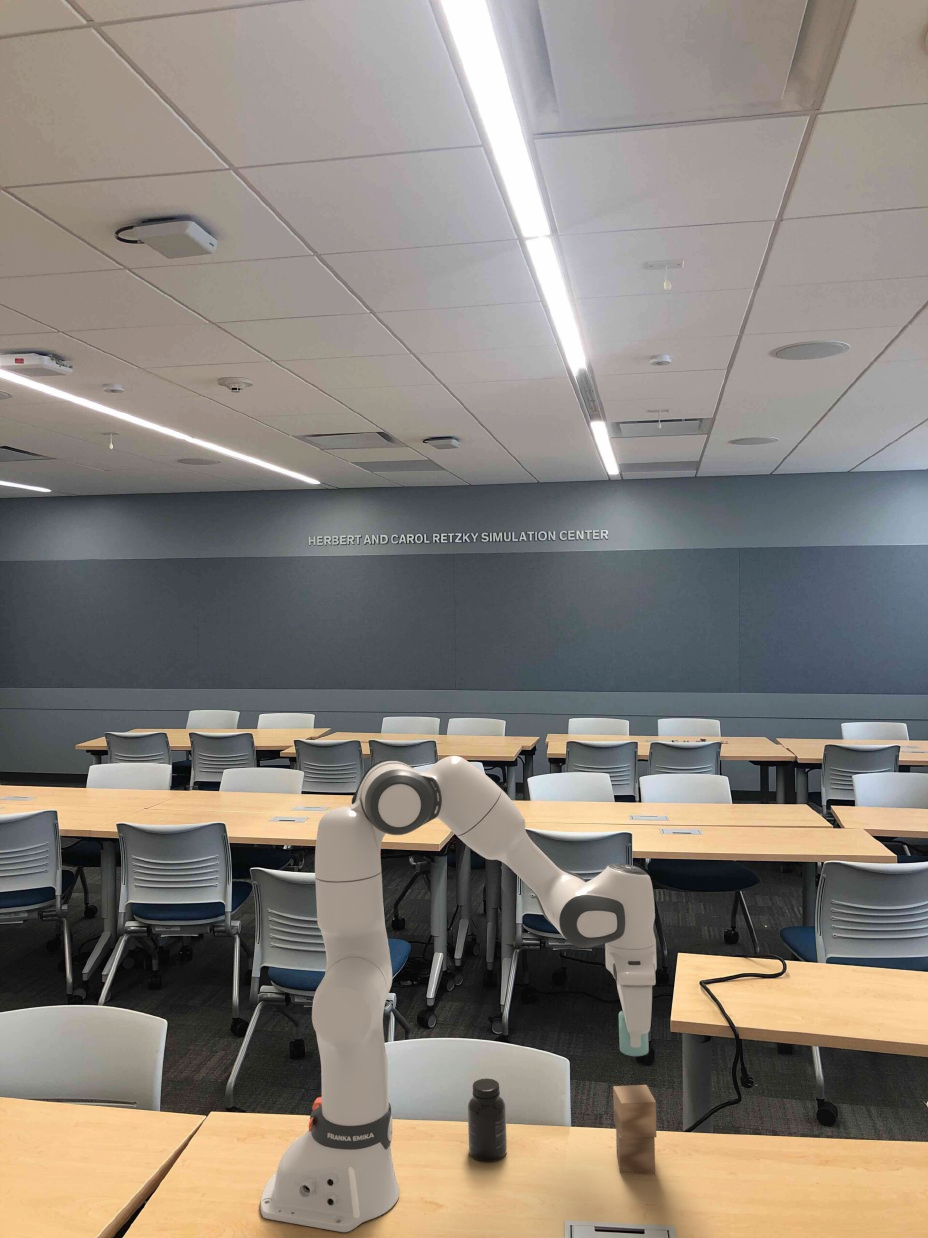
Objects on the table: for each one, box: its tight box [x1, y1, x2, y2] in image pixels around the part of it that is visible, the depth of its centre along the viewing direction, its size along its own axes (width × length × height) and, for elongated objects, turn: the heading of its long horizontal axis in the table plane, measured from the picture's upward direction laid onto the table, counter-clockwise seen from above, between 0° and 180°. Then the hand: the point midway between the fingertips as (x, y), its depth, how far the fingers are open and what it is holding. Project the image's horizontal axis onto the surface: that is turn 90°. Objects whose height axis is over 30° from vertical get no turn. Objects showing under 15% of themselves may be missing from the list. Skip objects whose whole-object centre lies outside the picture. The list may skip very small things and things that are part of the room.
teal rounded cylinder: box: [618, 1010, 649, 1057], centre depth 156 cm, size 5×5×6 cm
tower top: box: [612, 1084, 657, 1139], centre depth 156 cm, size 6×6×6 cm
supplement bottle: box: [467, 1078, 508, 1163], centre depth 159 cm, size 7×7×12 cm
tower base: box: [615, 1126, 656, 1175], centre depth 155 cm, size 6×6×6 cm
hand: (633, 1037), depth 156 cm, fingers closed on teal rounded cylinder, 5 cm apart
